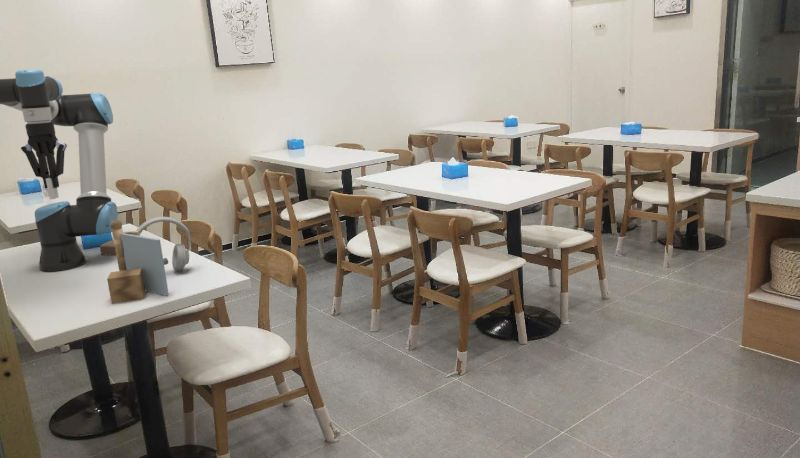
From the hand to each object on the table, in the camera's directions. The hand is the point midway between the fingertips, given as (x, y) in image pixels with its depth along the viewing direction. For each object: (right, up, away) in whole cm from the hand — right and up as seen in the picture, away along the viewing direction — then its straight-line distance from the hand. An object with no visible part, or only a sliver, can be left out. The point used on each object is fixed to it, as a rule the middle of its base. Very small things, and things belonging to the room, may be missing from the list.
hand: (54, 198), depth 191 cm
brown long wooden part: (+22, -28, +8) cm, 36 cm away
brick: (0, -19, +49) cm, 52 cm away
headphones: (+28, -25, +19) cm, 42 cm away
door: (+30, -29, +3) cm, 41 cm away
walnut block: (+25, -31, -3) cm, 40 cm away
